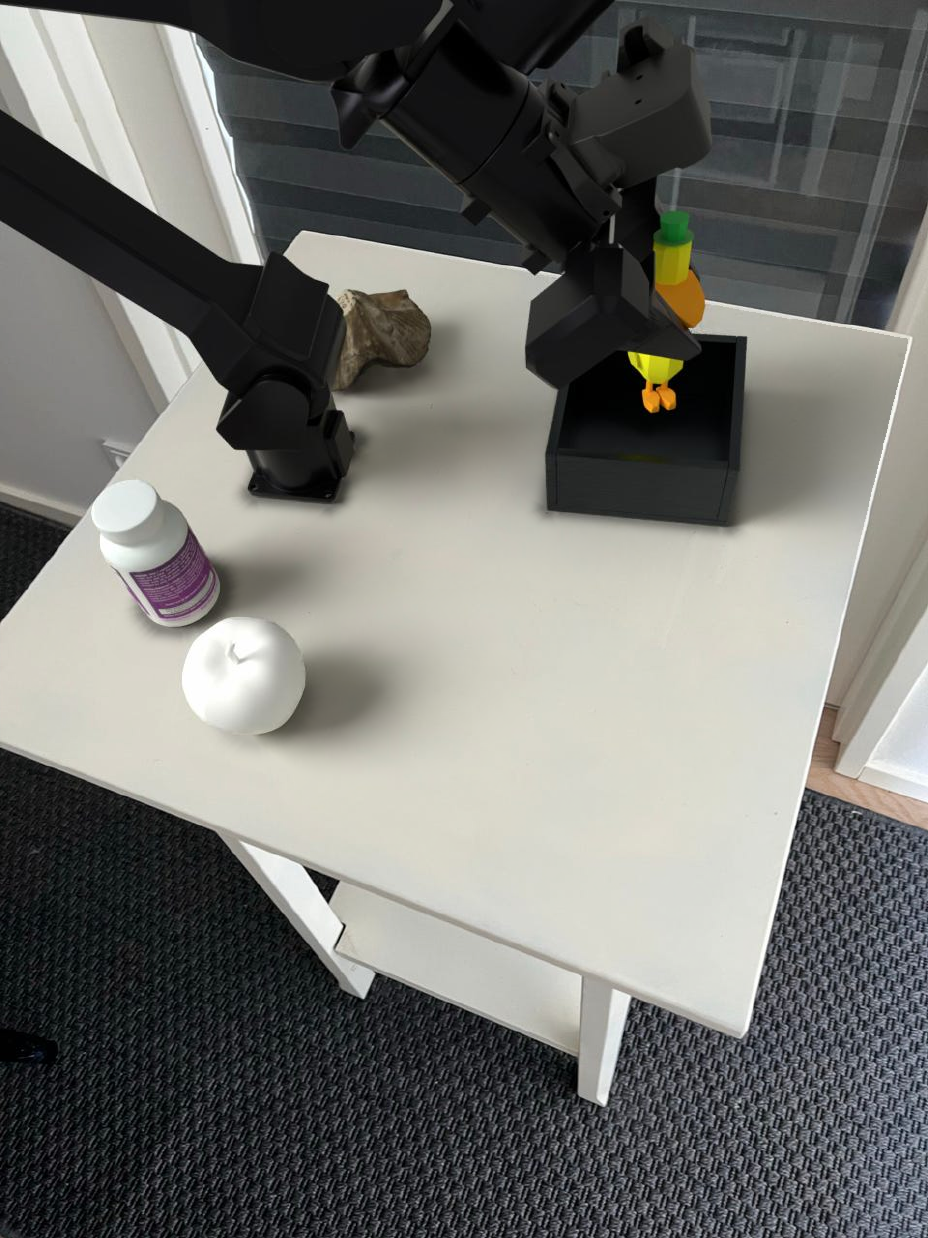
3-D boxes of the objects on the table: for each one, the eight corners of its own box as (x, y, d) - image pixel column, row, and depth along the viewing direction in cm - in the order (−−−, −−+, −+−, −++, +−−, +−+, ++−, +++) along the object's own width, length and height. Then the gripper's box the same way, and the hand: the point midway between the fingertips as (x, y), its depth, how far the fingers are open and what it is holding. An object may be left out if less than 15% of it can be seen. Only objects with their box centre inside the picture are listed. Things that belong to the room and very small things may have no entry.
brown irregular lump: (427, 288, 73) (308, 319, 75) (405, 257, 66) (275, 290, 68) (443, 382, 73) (324, 410, 75) (423, 360, 66) (292, 391, 68)
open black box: (546, 510, 63) (544, 454, 58) (570, 385, 69) (570, 325, 64) (726, 527, 61) (739, 470, 56) (735, 396, 67) (747, 335, 62)
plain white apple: (276, 775, 55) (235, 715, 48) (183, 726, 57) (132, 662, 50) (341, 681, 57) (311, 612, 51) (250, 638, 60) (210, 566, 53)
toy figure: (704, 433, 56) (737, 254, 47) (648, 444, 56) (668, 268, 46) (667, 363, 60) (690, 186, 51) (614, 374, 60) (626, 197, 50)
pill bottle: (234, 570, 63) (184, 476, 55) (202, 636, 60) (145, 547, 52) (164, 557, 64) (105, 463, 56) (129, 621, 61) (62, 532, 53)
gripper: (605, 124, 34) (840, 360, 42) (621, -101, 44) (810, 125, 52) (421, 297, 42) (649, 469, 50) (469, 73, 52) (654, 247, 59)
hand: (694, 319), depth 52 cm, fingers closed on toy figure, 5 cm apart
